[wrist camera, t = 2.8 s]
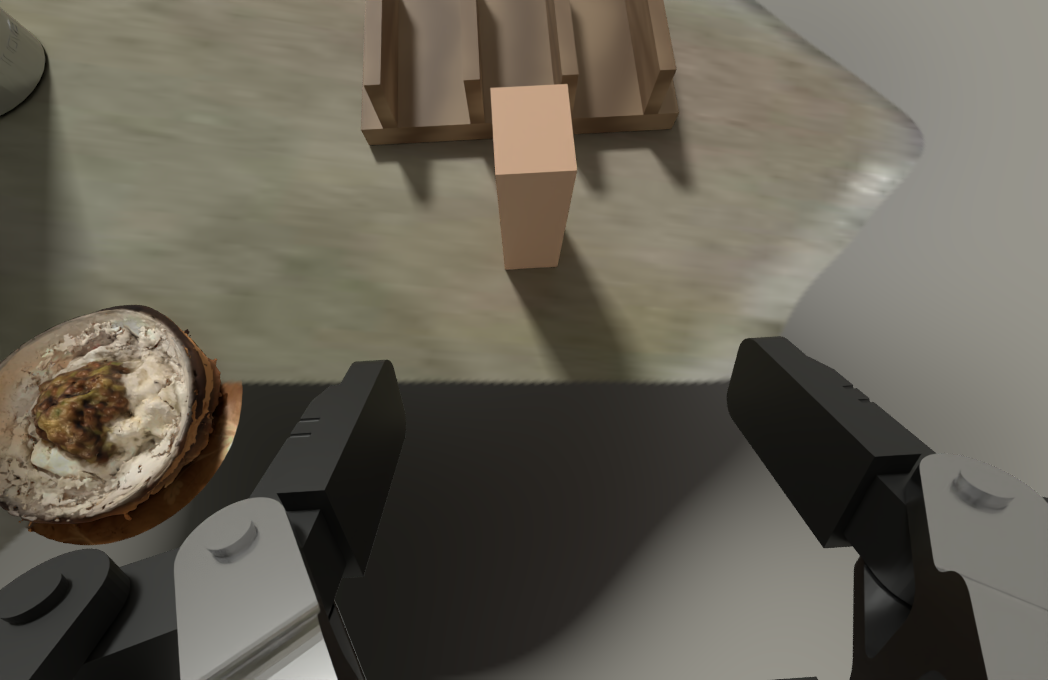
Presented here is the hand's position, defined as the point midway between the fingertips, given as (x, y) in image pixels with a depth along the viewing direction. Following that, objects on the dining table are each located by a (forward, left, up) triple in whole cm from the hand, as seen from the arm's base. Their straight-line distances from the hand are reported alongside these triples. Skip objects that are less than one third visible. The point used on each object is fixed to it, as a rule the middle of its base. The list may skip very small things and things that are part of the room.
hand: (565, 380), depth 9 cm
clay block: (0, +12, -16) cm, 20 cm away
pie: (-26, +2, -16) cm, 31 cm away
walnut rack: (0, +26, -16) cm, 30 cm away
